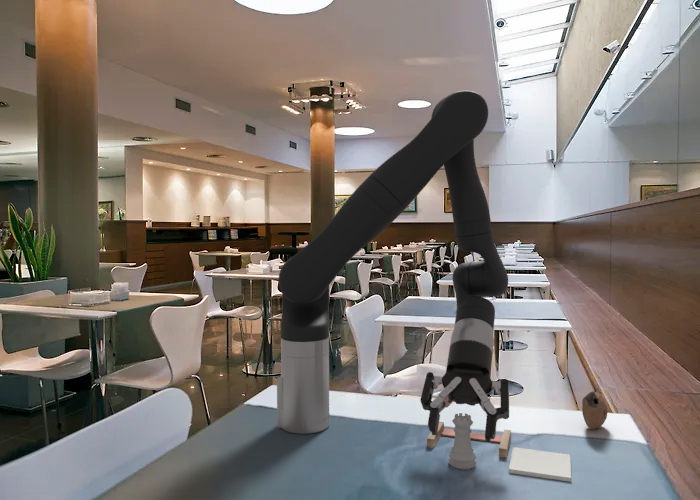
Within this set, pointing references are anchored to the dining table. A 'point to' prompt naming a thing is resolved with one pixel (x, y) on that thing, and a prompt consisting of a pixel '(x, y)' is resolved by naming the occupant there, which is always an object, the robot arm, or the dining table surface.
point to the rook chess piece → (462, 444)
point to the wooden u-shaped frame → (472, 438)
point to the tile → (540, 464)
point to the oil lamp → (594, 410)
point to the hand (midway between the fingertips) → (460, 436)
